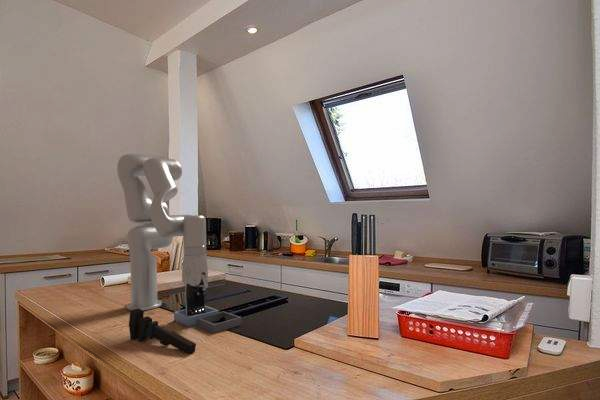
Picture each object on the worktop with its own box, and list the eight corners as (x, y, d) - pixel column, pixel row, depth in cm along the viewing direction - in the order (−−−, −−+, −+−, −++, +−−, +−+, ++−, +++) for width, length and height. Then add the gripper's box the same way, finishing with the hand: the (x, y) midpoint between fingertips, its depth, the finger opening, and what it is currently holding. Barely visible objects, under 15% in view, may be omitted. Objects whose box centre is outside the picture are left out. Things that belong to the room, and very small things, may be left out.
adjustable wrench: (185, 372, 97) (127, 337, 110) (193, 368, 100) (135, 334, 112) (189, 342, 96) (130, 310, 109) (197, 339, 99) (138, 308, 111)
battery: (190, 317, 122) (190, 283, 122) (184, 315, 125) (183, 281, 125) (208, 312, 128) (207, 279, 128) (201, 310, 130) (201, 278, 130)
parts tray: (174, 320, 126) (173, 311, 126) (203, 313, 134) (203, 305, 134) (188, 327, 119) (188, 318, 119) (218, 319, 127) (218, 310, 127)
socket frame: (197, 325, 120) (197, 318, 120) (223, 318, 127) (223, 311, 127) (214, 333, 113) (214, 325, 113) (241, 324, 120) (241, 317, 120)
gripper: (173, 250, 130) (174, 303, 129) (197, 254, 118) (199, 312, 118) (192, 248, 135) (193, 298, 135) (218, 252, 123) (219, 307, 123)
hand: (196, 304), depth 126 cm, fingers closed on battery, 4 cm apart
